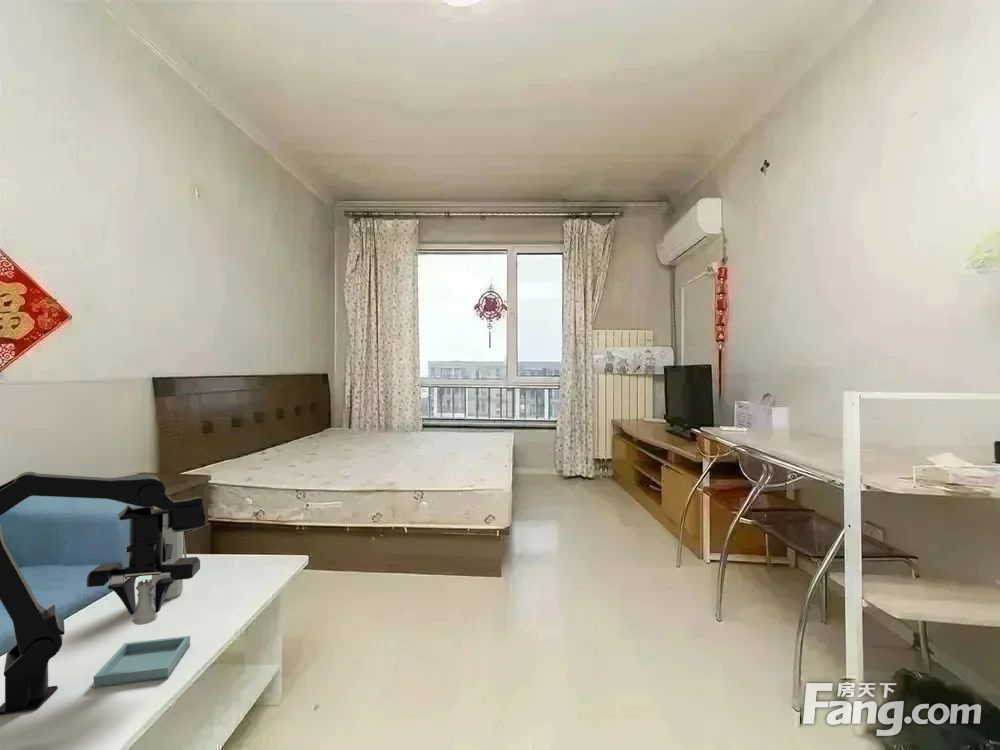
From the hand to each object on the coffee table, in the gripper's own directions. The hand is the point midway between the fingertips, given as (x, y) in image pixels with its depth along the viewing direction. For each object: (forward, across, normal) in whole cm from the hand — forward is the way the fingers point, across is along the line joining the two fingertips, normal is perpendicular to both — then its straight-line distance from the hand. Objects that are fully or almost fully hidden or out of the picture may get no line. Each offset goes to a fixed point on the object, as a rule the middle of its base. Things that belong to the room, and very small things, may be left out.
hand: (145, 612), depth 105 cm
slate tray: (+11, 0, 0) cm, 11 cm away
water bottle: (+11, +8, -37) cm, 39 cm away
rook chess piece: (+2, 0, 0) cm, 2 cm away
